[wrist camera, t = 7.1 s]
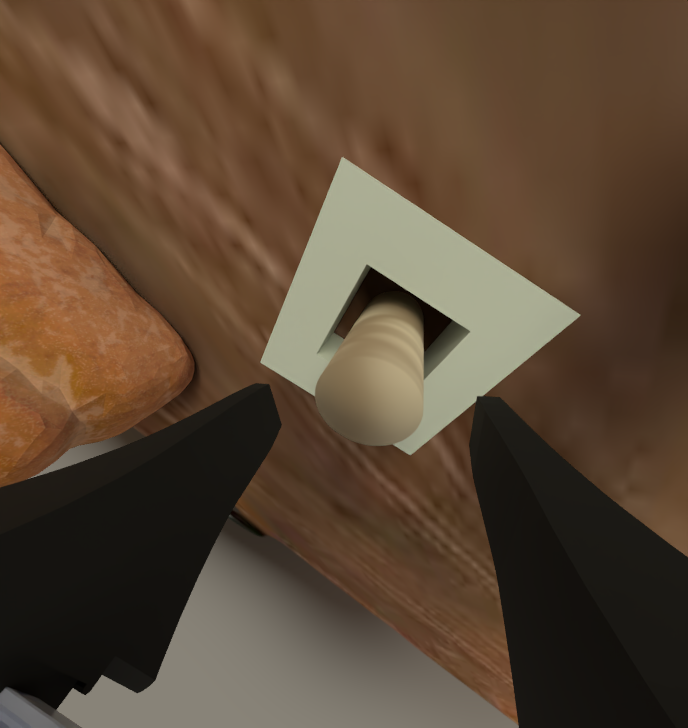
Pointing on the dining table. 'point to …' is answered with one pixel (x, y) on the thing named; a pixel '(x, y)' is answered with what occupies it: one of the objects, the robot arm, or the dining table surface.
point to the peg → (377, 374)
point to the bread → (70, 338)
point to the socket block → (423, 279)
